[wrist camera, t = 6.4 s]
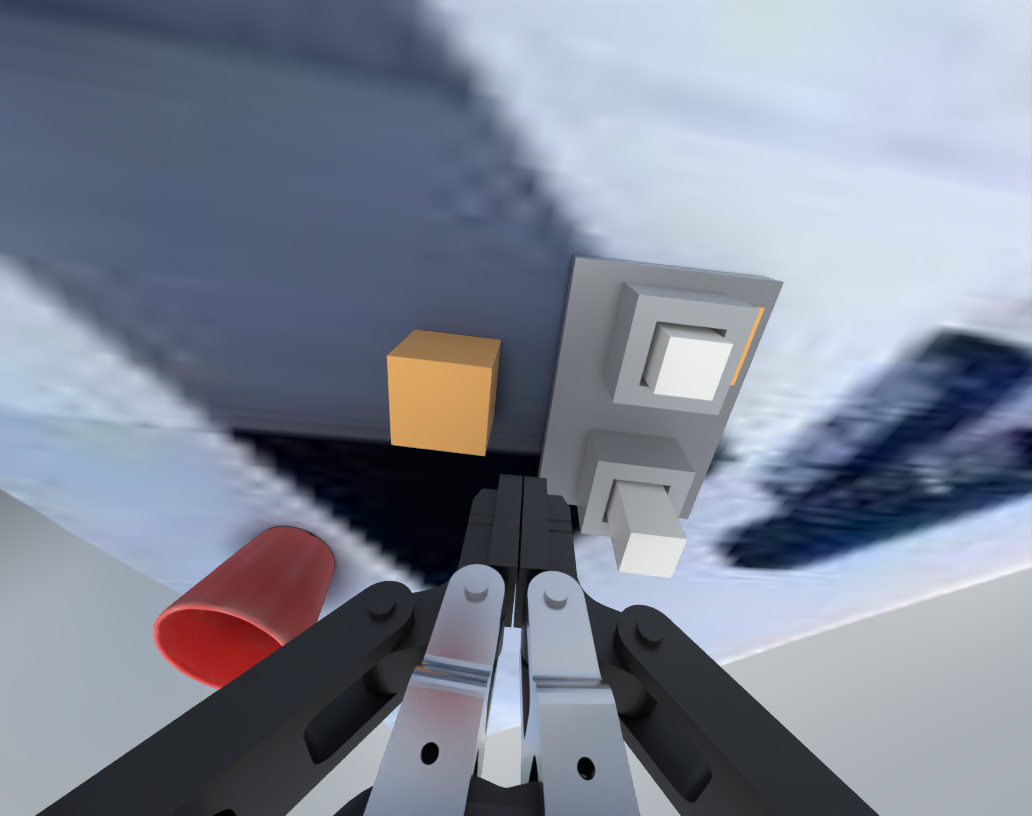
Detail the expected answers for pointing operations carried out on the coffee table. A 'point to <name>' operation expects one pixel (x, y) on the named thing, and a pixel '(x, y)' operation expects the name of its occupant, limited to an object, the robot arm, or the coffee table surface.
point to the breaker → (644, 529)
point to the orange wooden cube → (443, 391)
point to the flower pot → (247, 606)
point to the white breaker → (685, 361)
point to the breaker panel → (641, 380)
